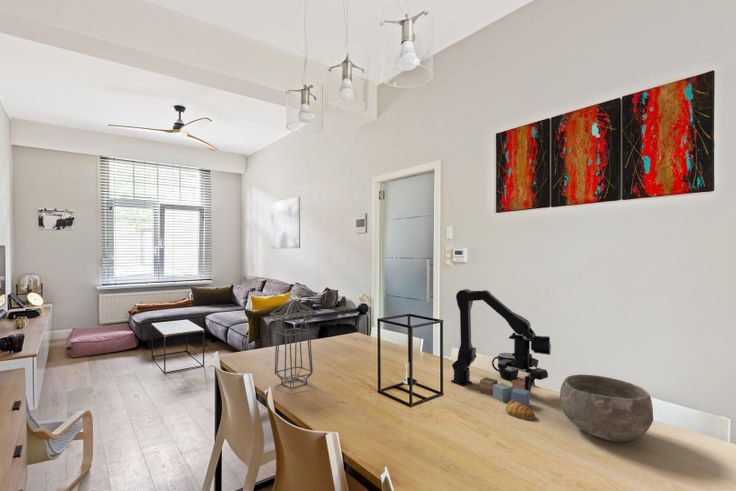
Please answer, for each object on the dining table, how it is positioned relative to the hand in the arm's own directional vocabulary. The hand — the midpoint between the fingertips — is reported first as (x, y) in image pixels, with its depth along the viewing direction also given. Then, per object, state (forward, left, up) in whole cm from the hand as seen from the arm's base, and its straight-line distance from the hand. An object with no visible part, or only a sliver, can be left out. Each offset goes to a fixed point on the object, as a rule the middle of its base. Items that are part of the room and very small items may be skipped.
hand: (521, 390), depth 150 cm
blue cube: (-10, -6, -1) cm, 12 cm away
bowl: (-9, -34, -2) cm, 35 cm away
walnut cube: (-10, +8, -1) cm, 13 cm away
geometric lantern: (-71, +60, -1) cm, 93 cm away
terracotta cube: (0, 0, -1) cm, 1 cm away
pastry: (-18, -11, -2) cm, 21 cm away
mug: (+12, +16, -2) cm, 20 cm away
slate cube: (-11, +1, -1) cm, 11 cm away
